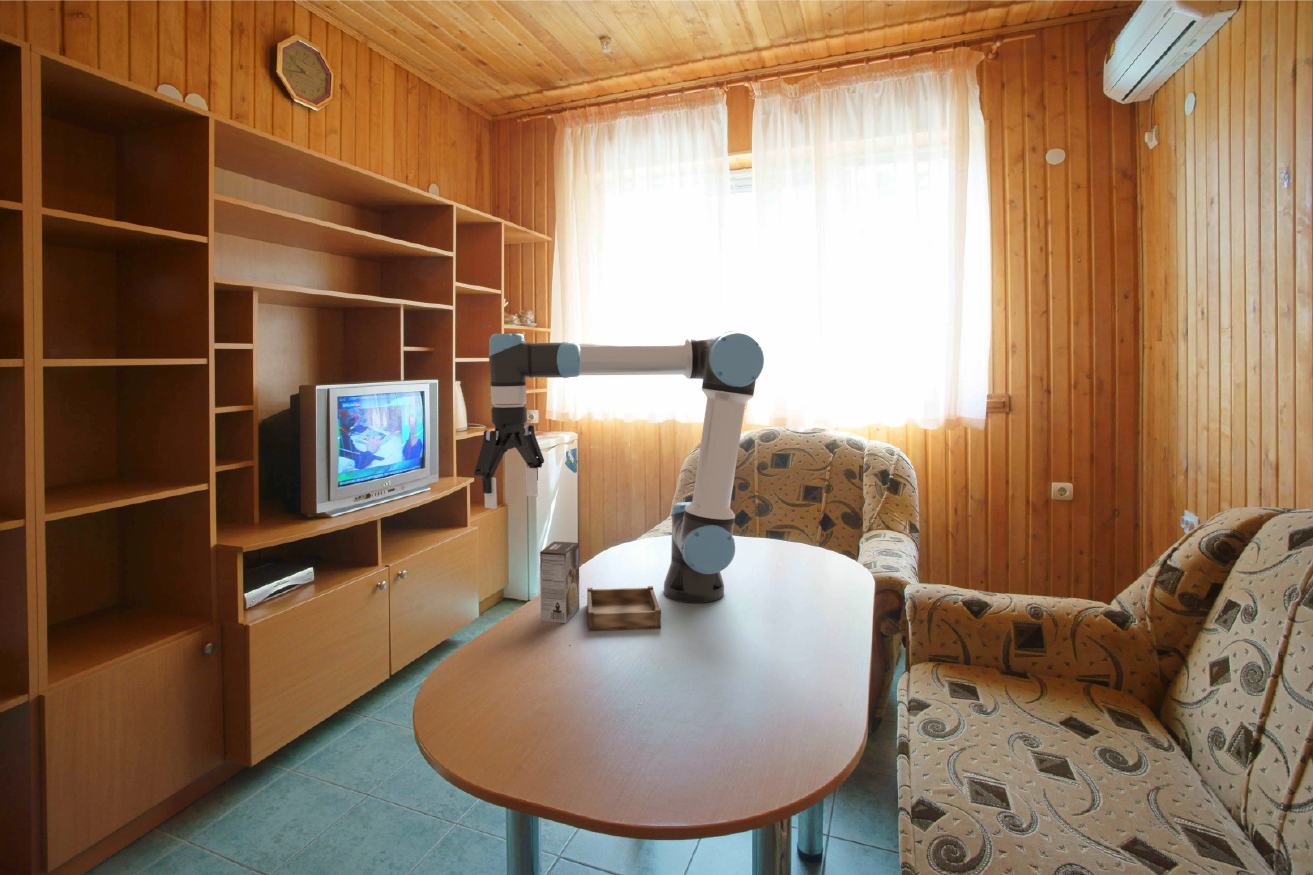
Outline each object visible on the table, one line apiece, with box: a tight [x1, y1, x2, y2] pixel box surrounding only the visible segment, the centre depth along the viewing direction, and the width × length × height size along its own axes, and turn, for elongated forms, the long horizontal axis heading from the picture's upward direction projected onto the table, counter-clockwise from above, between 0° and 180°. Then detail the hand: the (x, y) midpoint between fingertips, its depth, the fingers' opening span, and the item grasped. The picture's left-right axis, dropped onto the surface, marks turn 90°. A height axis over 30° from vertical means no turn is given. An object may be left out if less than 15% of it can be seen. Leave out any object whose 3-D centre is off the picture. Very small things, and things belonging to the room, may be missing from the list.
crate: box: [586, 585, 662, 632], centre depth 154 cm, size 16×16×4 cm
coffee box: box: [539, 541, 580, 624], centre depth 154 cm, size 9×6×16 cm
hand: (512, 501), depth 150 cm, fingers open, 13 cm apart
